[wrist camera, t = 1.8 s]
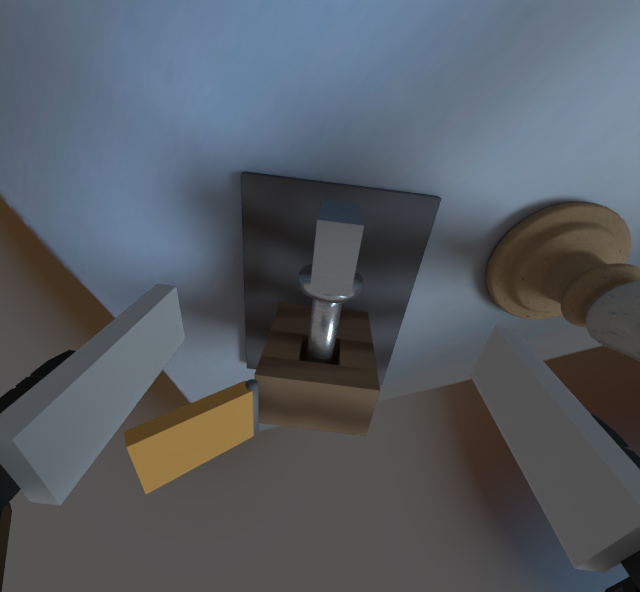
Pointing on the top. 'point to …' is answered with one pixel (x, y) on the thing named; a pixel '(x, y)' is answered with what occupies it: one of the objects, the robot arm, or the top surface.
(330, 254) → the lynch pin
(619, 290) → the candle holder
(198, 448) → the plate
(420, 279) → the top surface
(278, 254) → the hitch block
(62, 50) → the top surface
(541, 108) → the top surface
